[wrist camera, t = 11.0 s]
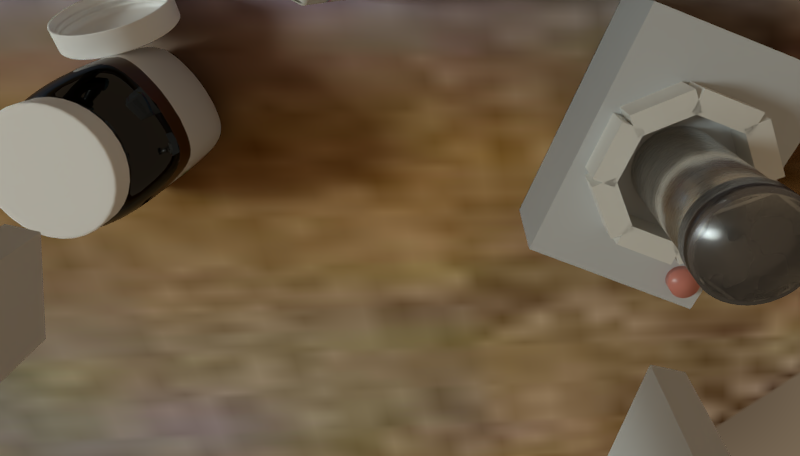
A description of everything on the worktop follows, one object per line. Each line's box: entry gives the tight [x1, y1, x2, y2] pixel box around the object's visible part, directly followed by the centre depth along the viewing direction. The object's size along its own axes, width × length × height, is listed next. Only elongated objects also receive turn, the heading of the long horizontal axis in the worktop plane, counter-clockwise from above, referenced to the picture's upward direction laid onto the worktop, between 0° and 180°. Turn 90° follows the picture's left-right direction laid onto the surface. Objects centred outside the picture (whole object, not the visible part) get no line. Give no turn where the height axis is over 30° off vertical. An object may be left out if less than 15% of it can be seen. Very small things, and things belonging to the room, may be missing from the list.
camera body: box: [520, 0, 800, 309], centre depth 34 cm, size 14×10×8 cm
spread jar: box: [0, 0, 221, 239], centre depth 34 cm, size 12×11×12 cm
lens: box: [631, 126, 800, 305], centre depth 28 cm, size 5×5×10 cm
